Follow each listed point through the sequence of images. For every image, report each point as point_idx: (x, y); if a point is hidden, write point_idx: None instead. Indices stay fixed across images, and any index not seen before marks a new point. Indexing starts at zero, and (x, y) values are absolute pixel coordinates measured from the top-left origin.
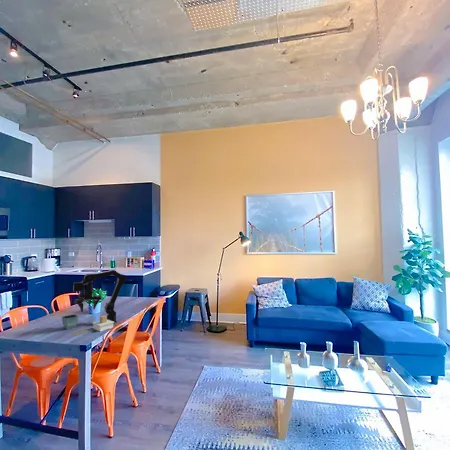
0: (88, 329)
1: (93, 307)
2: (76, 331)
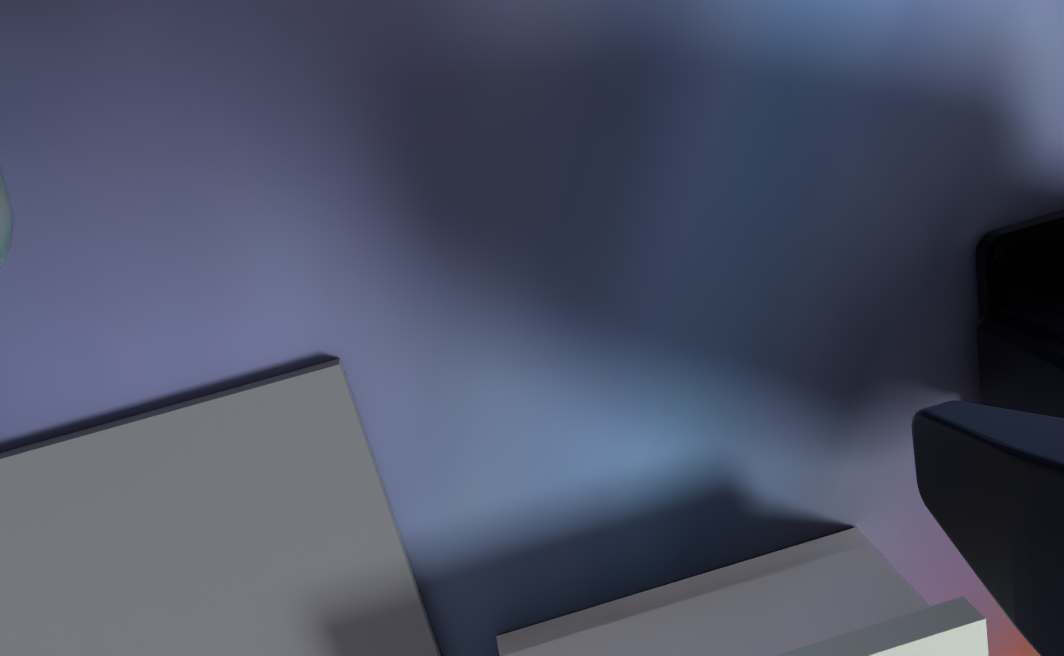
0: (372, 636)
1: (1008, 490)
2: (29, 629)
